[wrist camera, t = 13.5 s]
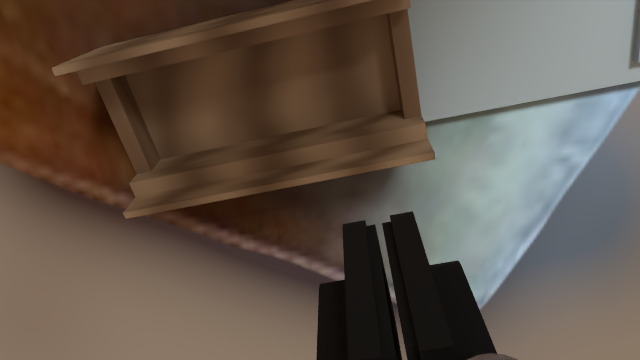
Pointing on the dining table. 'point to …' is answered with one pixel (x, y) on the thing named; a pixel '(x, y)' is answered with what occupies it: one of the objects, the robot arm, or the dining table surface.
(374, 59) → the walnut box
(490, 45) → the cover plate
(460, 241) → the dining table surface
